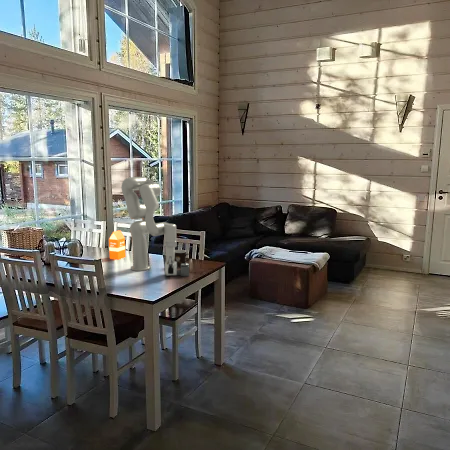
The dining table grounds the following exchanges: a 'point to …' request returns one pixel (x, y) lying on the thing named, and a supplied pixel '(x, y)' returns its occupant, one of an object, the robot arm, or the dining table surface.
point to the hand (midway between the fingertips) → (171, 271)
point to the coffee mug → (180, 257)
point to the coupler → (183, 270)
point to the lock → (173, 268)
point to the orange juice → (117, 245)
